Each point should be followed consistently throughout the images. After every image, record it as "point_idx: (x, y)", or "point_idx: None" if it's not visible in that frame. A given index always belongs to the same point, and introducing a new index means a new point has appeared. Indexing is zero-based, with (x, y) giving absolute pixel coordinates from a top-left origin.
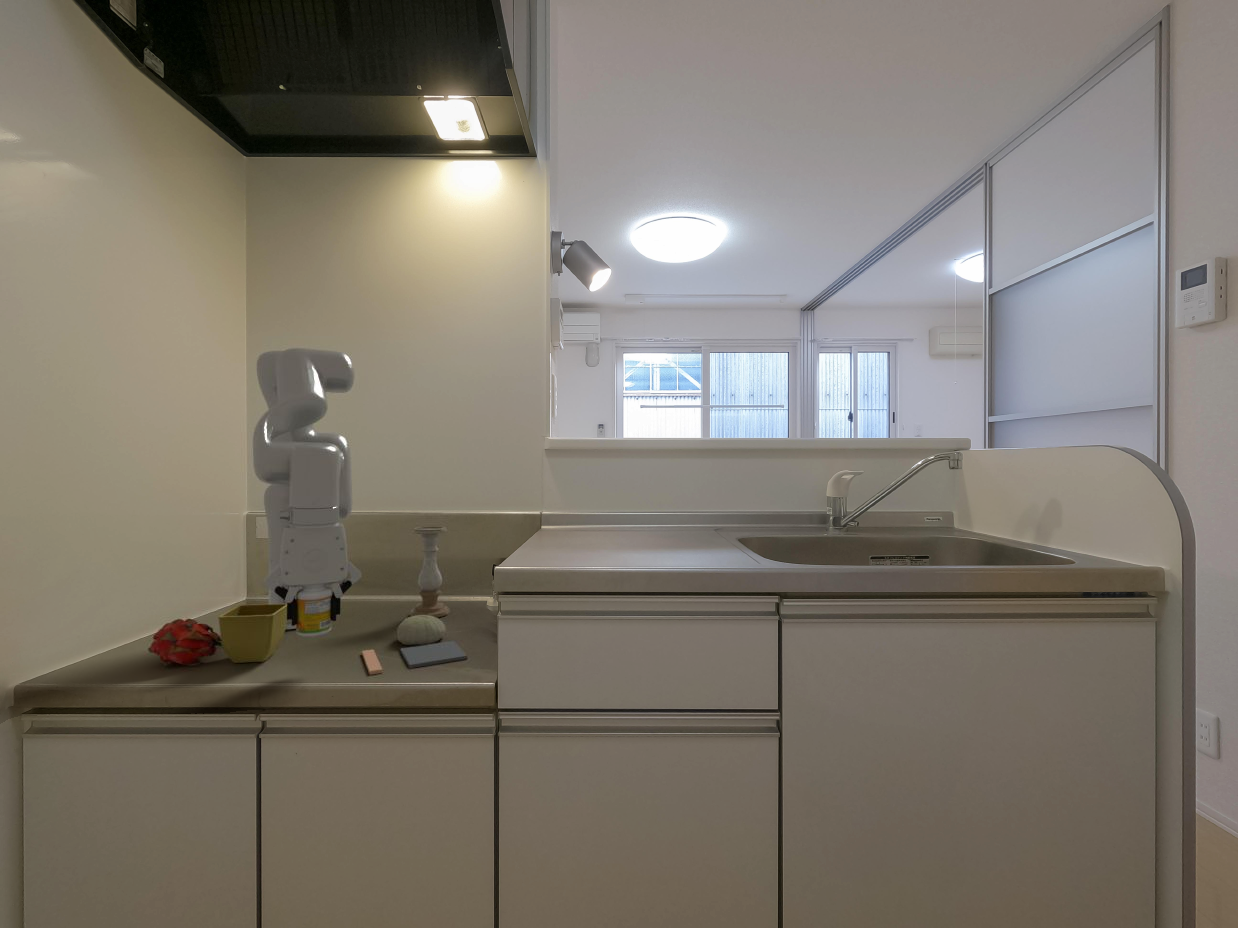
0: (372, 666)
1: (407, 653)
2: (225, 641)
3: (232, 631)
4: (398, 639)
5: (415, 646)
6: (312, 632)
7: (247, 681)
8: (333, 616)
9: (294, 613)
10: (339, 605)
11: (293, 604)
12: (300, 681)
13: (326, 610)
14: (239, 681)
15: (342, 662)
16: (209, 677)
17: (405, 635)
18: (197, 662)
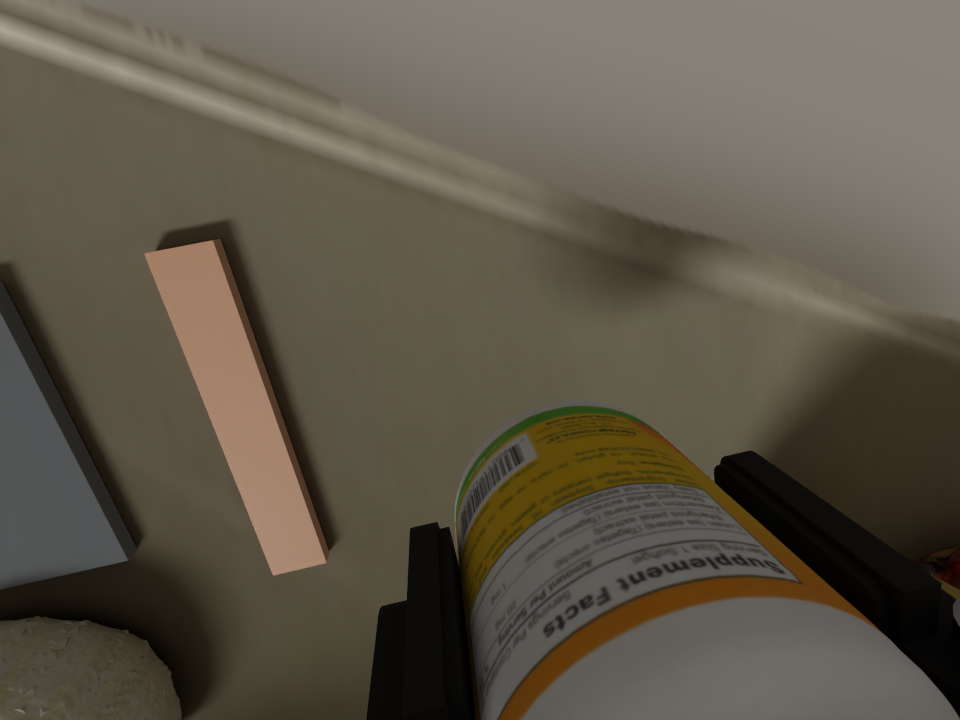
0: (215, 318)
1: (63, 478)
2: (948, 587)
3: None
4: (166, 672)
5: (48, 575)
6: (571, 407)
7: (765, 320)
8: (432, 542)
9: (801, 509)
10: (381, 669)
11: (901, 570)
12: (552, 247)
13: (502, 559)
14: (793, 329)
15: (400, 461)
16: (894, 410)
17: (94, 662)
18: (938, 560)
